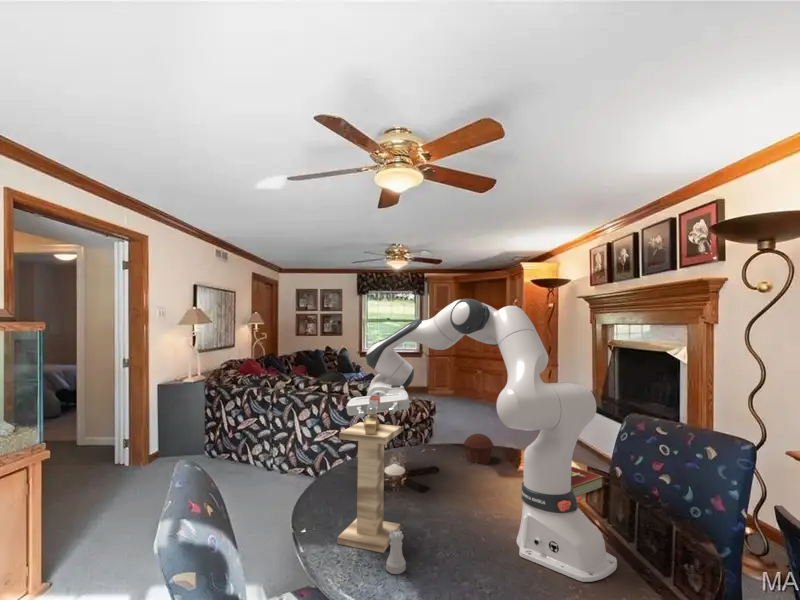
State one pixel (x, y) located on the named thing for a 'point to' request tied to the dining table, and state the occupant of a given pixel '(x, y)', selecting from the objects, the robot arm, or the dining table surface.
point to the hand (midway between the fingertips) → (376, 413)
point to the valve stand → (369, 486)
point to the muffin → (478, 448)
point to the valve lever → (373, 405)
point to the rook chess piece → (396, 554)
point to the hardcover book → (584, 481)
